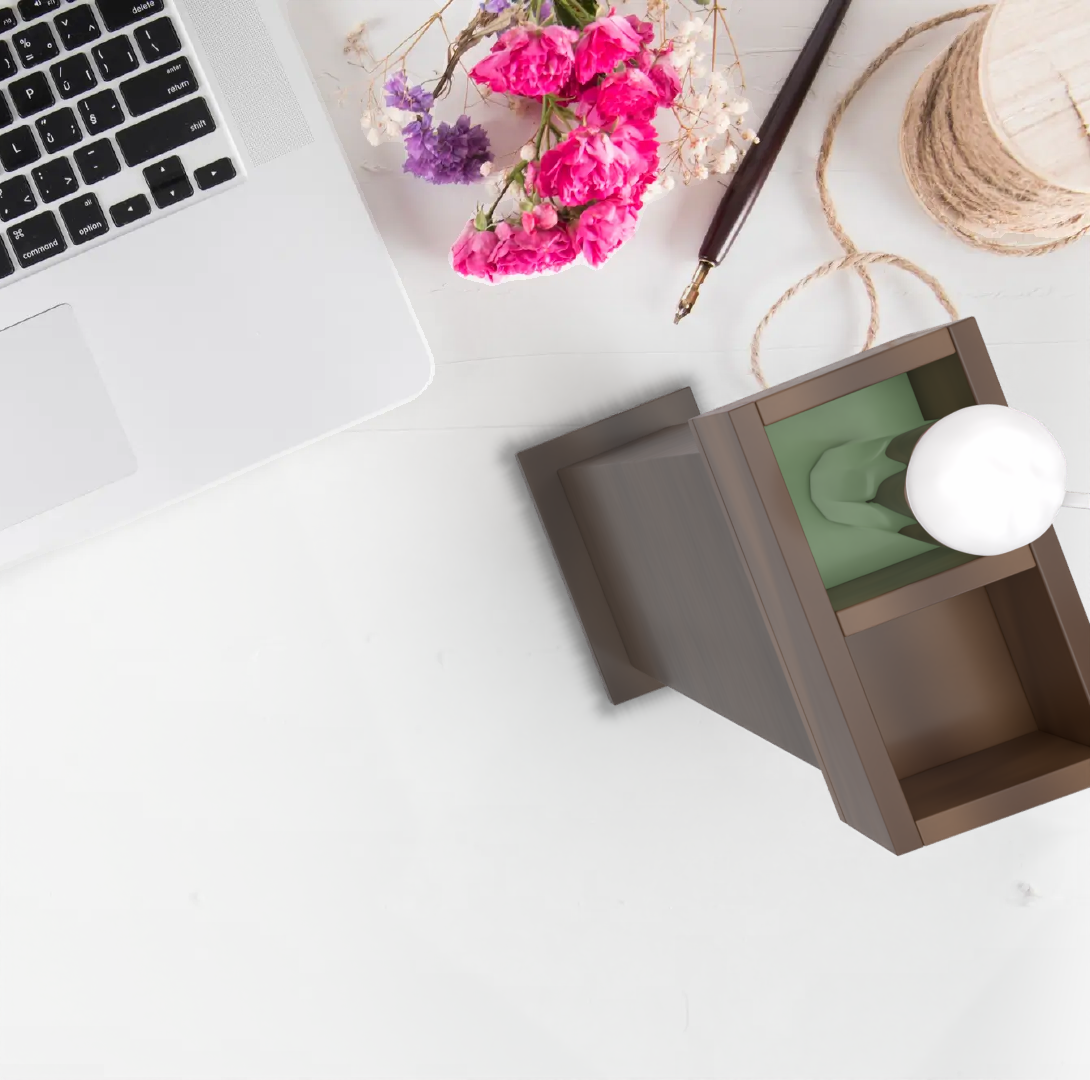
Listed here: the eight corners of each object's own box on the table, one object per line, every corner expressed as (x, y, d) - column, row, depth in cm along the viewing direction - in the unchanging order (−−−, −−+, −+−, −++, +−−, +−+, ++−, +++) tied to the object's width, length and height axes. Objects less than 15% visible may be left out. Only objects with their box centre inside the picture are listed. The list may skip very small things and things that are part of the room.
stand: (684, 387, 67) (940, 307, 39) (781, 639, 67) (1103, 738, 39) (513, 453, 68) (645, 422, 40) (610, 703, 68) (807, 845, 40)
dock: (907, 334, 39) (975, 314, 35) (1060, 740, 40) (1145, 768, 35) (686, 420, 40) (727, 411, 36) (839, 820, 40) (897, 856, 36)
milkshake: (913, 562, 39) (1116, 584, 29) (775, 525, 39) (929, 535, 29) (948, 447, 39) (1164, 429, 29) (809, 411, 39) (976, 380, 29)
